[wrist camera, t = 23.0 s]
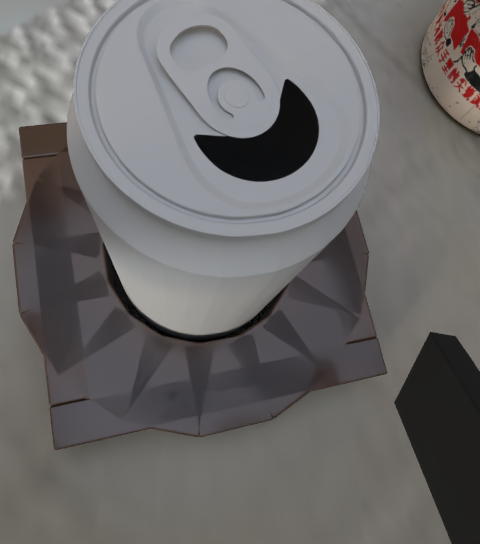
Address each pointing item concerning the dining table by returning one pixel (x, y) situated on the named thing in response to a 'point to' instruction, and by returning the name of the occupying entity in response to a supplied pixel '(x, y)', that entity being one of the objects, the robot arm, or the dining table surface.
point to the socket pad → (166, 350)
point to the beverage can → (219, 150)
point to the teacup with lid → (455, 60)
